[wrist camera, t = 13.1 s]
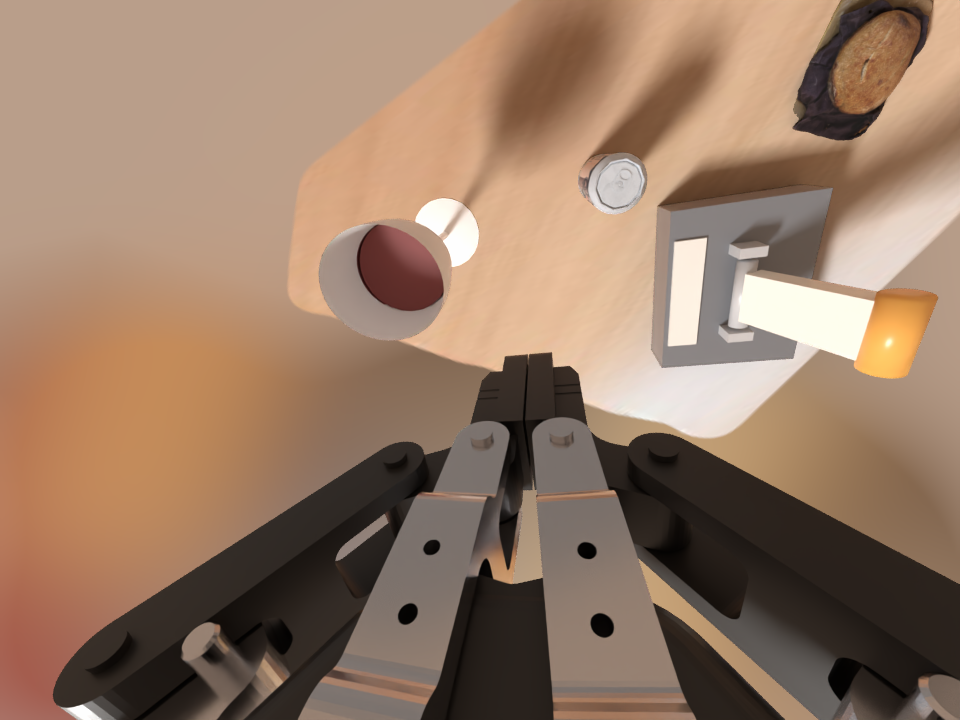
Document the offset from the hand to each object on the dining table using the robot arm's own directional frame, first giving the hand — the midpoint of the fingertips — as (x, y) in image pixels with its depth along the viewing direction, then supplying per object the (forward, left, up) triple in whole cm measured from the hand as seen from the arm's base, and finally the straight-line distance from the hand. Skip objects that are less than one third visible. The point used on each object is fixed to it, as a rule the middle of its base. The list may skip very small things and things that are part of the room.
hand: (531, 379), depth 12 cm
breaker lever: (+4, +22, -30) cm, 38 cm away
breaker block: (+4, +22, -37) cm, 43 cm away
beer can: (-5, +6, -37) cm, 38 cm away
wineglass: (+3, -11, -37) cm, 39 cm away
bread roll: (-16, +27, -38) cm, 49 cm away
